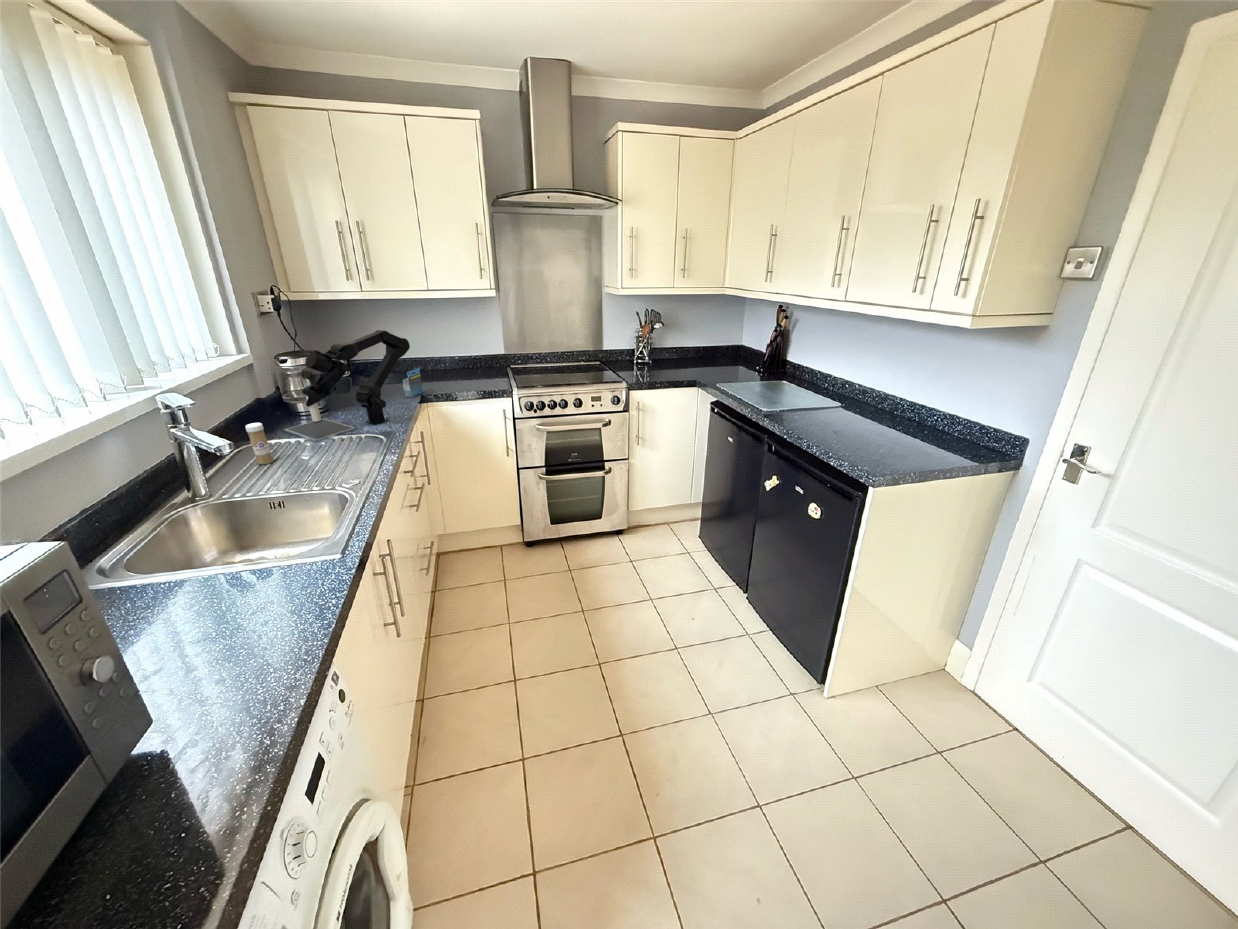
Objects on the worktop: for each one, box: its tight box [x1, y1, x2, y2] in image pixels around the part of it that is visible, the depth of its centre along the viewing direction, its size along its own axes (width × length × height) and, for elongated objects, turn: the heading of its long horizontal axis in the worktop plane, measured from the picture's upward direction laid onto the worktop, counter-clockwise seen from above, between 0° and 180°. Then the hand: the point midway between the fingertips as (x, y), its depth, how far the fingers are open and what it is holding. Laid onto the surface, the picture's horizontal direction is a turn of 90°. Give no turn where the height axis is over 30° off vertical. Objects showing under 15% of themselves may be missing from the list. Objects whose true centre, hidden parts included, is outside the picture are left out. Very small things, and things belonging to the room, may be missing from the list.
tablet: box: [283, 418, 357, 443], centre depth 193 cm, size 22×16×1 cm
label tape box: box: [402, 367, 424, 398], centre depth 236 cm, size 9×4×12 cm, turn 164°
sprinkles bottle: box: [245, 422, 274, 465], centre depth 162 cm, size 5×5×13 cm
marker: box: [302, 384, 323, 423], centre depth 187 cm, size 3×3×14 cm
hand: (309, 404), depth 187 cm, fingers closed on marker, 3 cm apart
